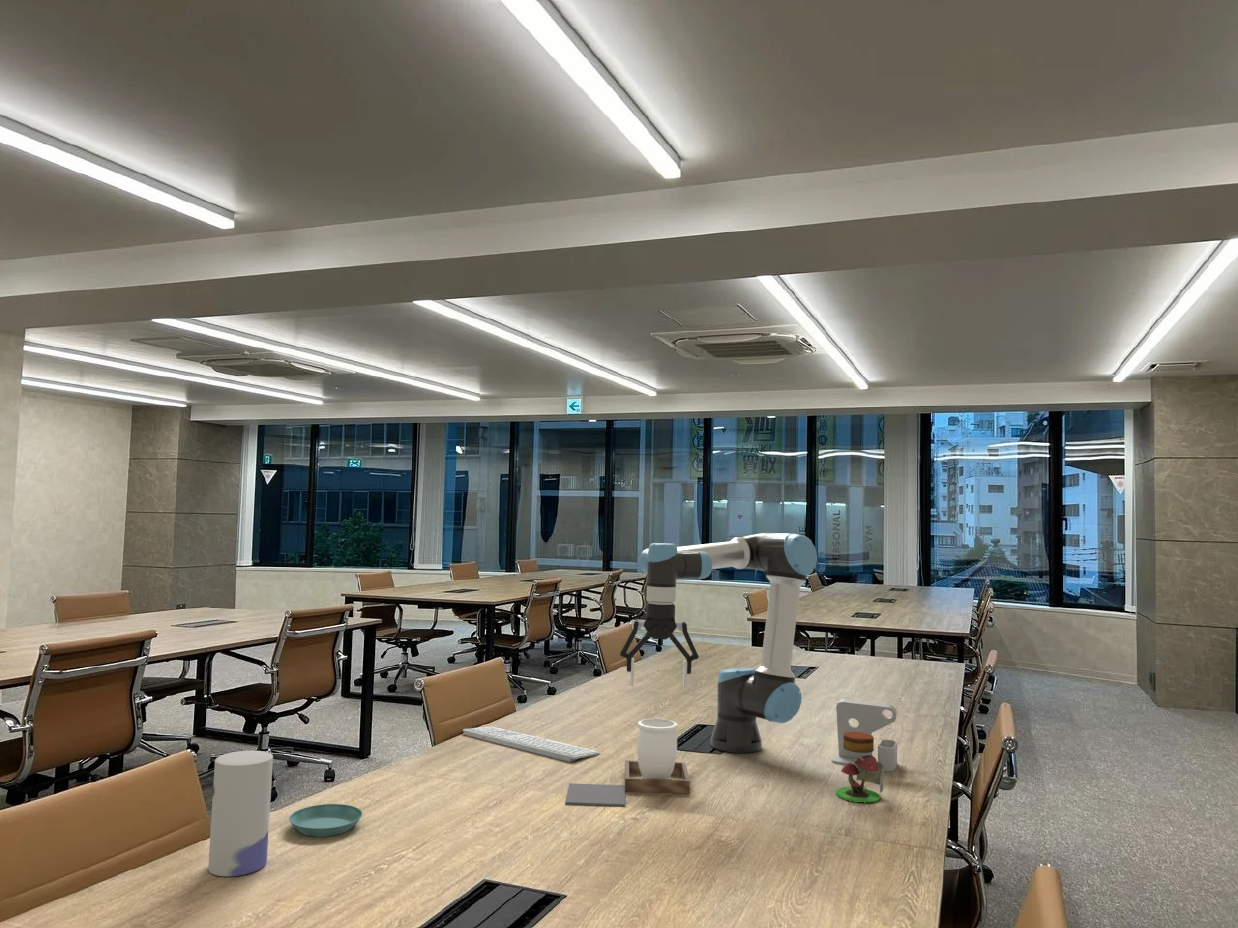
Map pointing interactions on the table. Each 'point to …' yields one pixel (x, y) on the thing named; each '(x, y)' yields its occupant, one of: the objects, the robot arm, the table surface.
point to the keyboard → (530, 743)
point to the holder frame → (657, 780)
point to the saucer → (325, 819)
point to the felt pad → (595, 794)
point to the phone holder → (865, 730)
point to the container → (240, 813)
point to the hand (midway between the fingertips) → (658, 685)
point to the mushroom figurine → (861, 769)
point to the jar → (656, 748)
